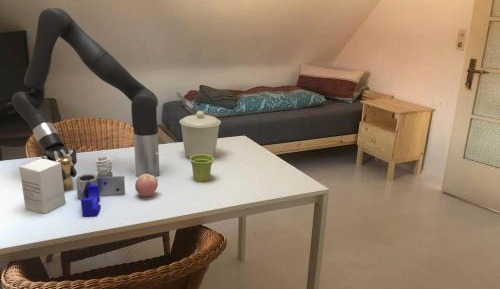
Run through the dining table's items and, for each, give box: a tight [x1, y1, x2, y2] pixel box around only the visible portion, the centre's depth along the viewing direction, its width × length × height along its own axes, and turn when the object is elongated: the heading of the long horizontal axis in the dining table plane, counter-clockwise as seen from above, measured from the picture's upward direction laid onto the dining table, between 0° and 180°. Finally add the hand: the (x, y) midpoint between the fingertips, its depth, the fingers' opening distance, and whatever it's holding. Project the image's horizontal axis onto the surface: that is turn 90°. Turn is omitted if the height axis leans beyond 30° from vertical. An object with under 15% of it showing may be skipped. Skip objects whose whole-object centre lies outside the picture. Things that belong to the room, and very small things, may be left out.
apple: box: [134, 174, 159, 197], centre depth 153 cm, size 8×8×8 cm
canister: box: [179, 110, 222, 159], centre depth 192 cm, size 18×18×21 cm
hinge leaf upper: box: [75, 173, 126, 197], centre depth 152 cm, size 16×7×7 cm, turn 102°
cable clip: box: [80, 185, 102, 218], centre depth 143 cm, size 12×4×6 cm, turn 7°
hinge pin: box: [58, 155, 74, 192], centre depth 155 cm, size 5×5×12 cm
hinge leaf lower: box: [76, 181, 89, 201], centre depth 147 cm, size 7×16×7 cm, turn 12°
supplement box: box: [19, 158, 66, 215], centre depth 141 cm, size 9×9×15 cm
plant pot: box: [189, 154, 215, 183], centre depth 169 cm, size 9×9×9 cm
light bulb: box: [95, 155, 113, 177], centre depth 159 cm, size 6×6×12 cm
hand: (70, 177), depth 154 cm, fingers closed on hinge pin, 3 cm apart
